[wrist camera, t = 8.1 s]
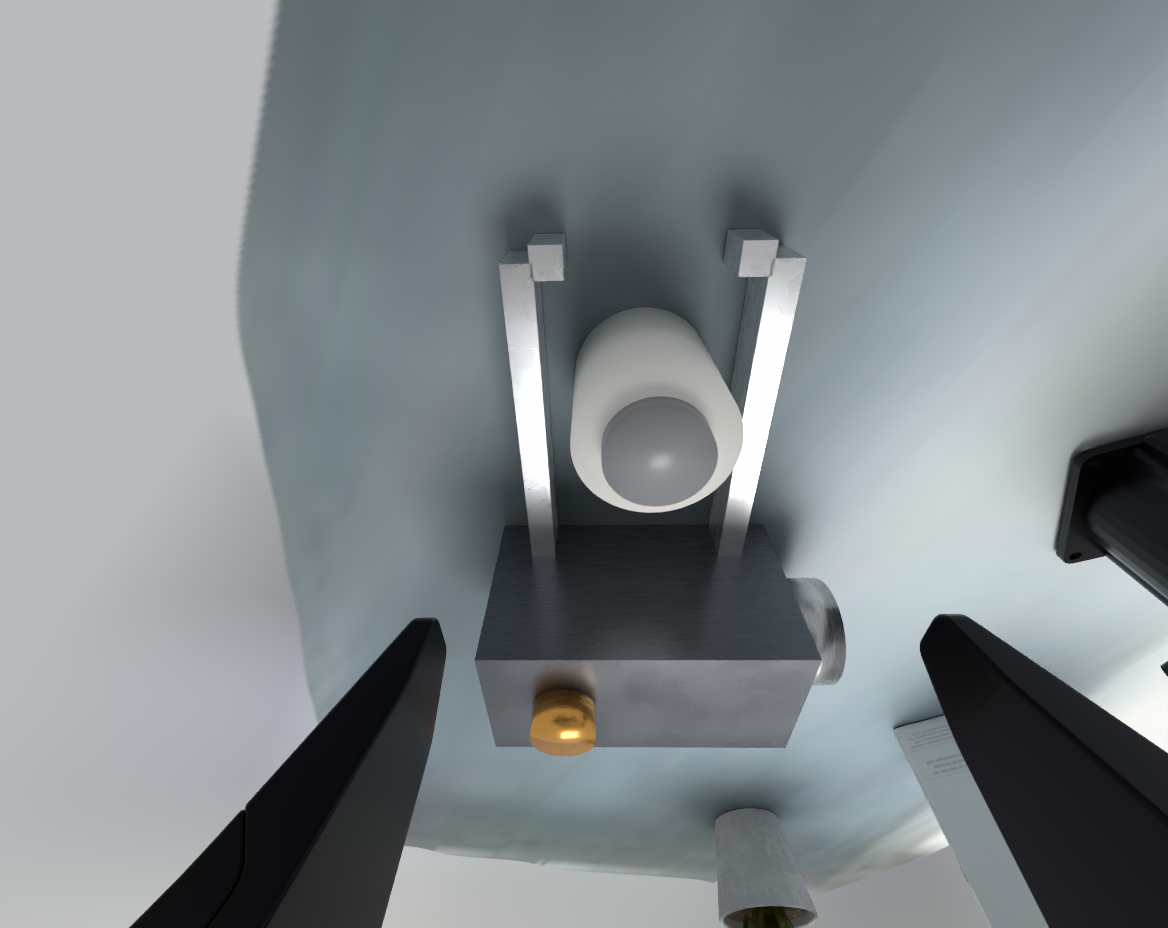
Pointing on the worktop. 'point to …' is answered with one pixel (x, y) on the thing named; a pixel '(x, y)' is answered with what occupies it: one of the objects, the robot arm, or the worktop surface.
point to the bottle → (651, 414)
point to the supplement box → (968, 825)
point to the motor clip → (652, 569)
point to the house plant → (758, 874)
